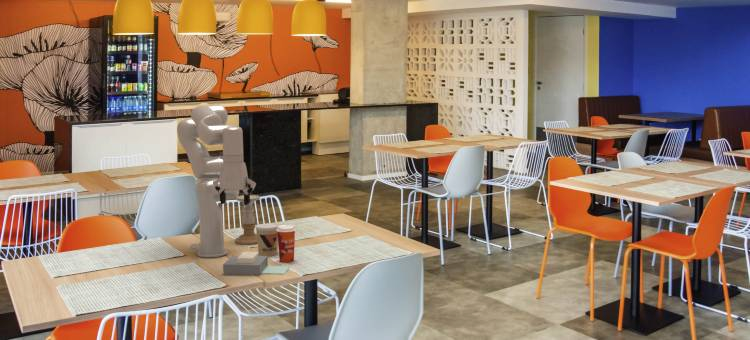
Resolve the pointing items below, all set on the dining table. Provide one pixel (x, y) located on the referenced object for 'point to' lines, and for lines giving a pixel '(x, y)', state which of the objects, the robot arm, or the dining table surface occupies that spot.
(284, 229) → the paper cup
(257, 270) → the grey flat block
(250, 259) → the pale pink flat block
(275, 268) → the mat
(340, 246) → the dining table surface
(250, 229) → the candle holder
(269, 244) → the coffee cup
